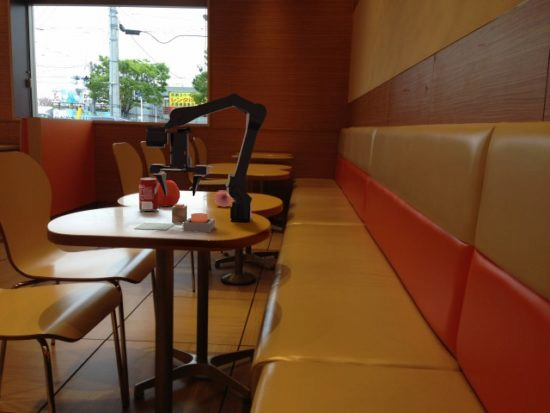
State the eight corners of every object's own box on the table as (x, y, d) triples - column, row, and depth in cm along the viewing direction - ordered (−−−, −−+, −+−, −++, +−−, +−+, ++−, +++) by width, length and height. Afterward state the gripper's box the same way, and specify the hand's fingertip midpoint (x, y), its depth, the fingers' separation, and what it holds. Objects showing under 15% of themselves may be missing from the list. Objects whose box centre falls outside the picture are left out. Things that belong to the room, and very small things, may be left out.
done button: (209, 222, 141) (209, 213, 140) (205, 226, 136) (205, 216, 135) (193, 222, 141) (193, 212, 140) (189, 225, 136) (189, 215, 136)
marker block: (187, 220, 152) (187, 203, 151) (184, 222, 148) (184, 205, 147) (175, 219, 152) (175, 203, 151) (172, 222, 148) (171, 205, 147)
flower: (216, 190, 186) (218, 184, 181) (233, 198, 187) (237, 192, 182) (208, 205, 182) (211, 199, 177) (227, 213, 183) (230, 208, 178)
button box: (214, 226, 142) (214, 218, 142) (209, 232, 134) (209, 223, 134) (189, 225, 143) (189, 218, 142) (183, 231, 135) (183, 222, 134)
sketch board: (175, 224, 144) (175, 223, 144) (167, 230, 136) (167, 229, 136) (144, 223, 145) (144, 222, 145) (134, 228, 136) (134, 228, 136)
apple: (176, 208, 175) (176, 181, 173) (150, 207, 175) (149, 180, 173) (182, 204, 185) (182, 178, 183) (157, 203, 185) (157, 177, 183)
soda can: (153, 212, 163) (152, 179, 162) (135, 211, 165) (135, 178, 163) (161, 209, 170) (160, 178, 168) (144, 208, 171) (144, 177, 169)
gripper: (212, 147, 154) (212, 193, 156) (158, 146, 154) (159, 191, 157) (205, 148, 143) (206, 197, 145) (147, 147, 143) (148, 196, 146)
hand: (179, 195), depth 149 cm, fingers open, 9 cm apart
